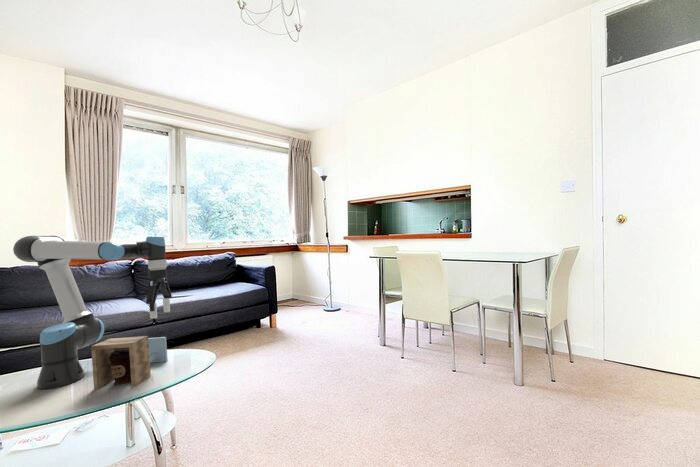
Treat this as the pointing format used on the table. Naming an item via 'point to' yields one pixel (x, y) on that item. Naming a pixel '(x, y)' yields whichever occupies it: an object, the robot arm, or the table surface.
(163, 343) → the plunger
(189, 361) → the table surface
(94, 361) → the tunnel
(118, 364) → the coffee cup
